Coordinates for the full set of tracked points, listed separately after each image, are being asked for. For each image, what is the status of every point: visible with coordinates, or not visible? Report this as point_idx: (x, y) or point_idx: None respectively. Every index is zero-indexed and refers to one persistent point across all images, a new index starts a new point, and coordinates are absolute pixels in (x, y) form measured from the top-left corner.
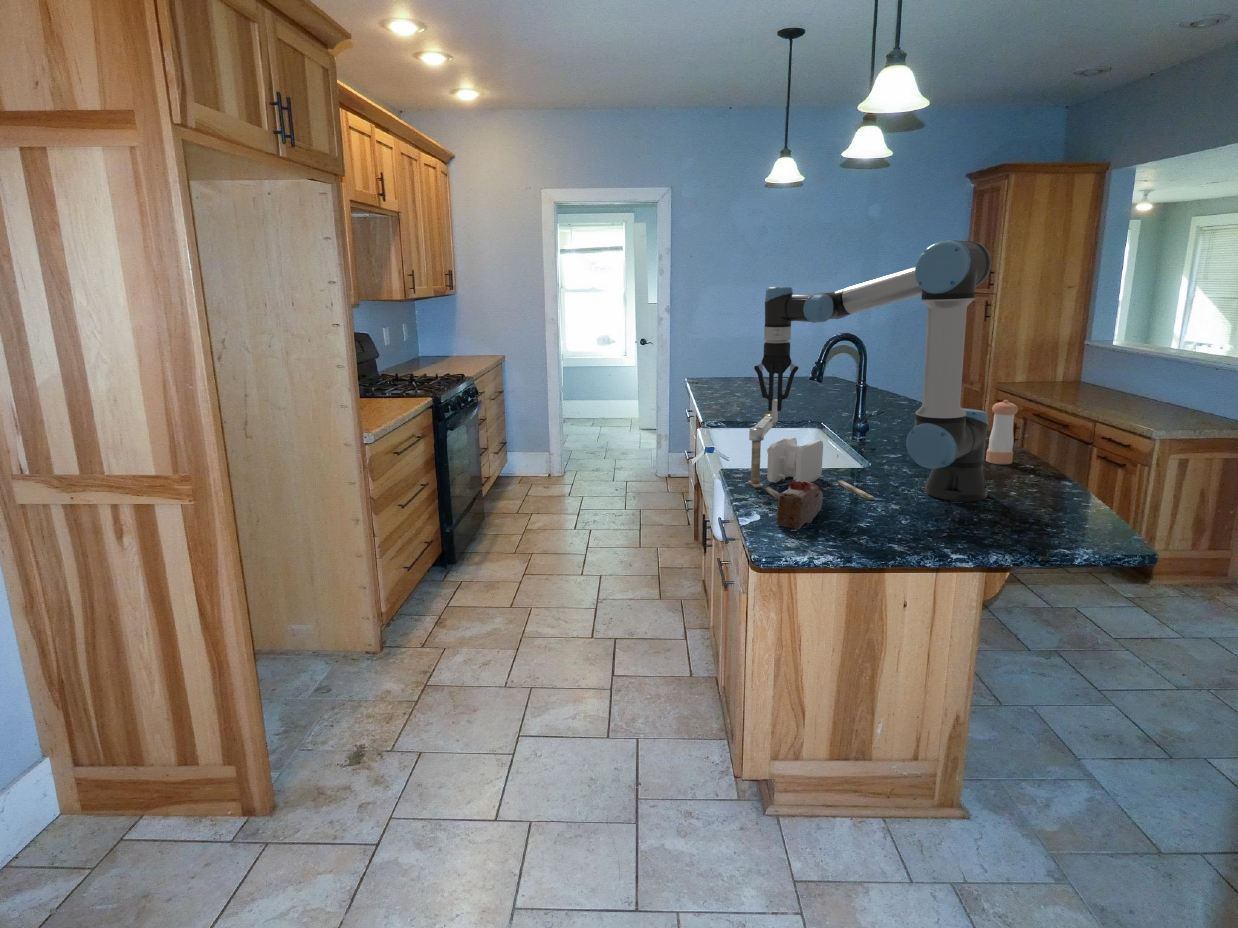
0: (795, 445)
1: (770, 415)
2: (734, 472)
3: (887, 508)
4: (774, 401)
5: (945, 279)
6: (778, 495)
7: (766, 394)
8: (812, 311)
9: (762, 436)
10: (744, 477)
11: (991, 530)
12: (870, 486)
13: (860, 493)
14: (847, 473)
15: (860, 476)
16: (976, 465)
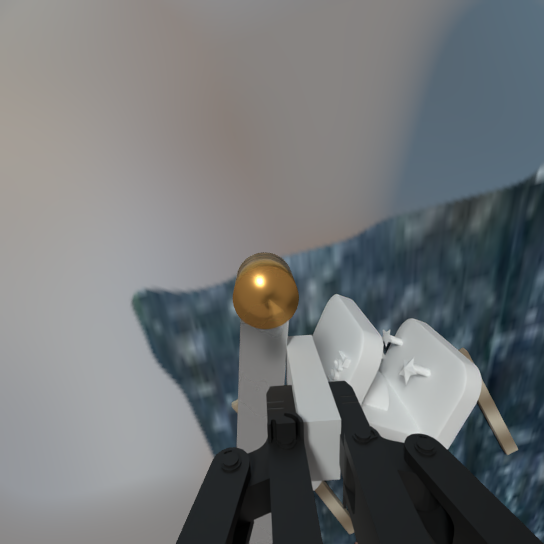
0: (380, 432)
1: (270, 316)
2: (175, 322)
3: (527, 484)
4: (317, 477)
5: None
6: (318, 491)
7: (252, 519)
8: None
9: None
10: (214, 361)
11: None
12: (527, 356)
13: (494, 430)
14: (491, 252)
15: (522, 274)
16: None
